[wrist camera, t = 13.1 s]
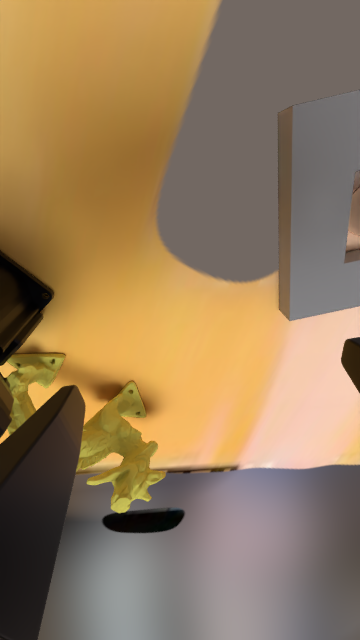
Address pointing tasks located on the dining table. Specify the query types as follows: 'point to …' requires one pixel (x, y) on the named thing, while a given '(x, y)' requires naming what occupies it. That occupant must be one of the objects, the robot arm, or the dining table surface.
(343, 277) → the housing
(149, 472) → the sculpture
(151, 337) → the dining table surface
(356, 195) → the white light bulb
